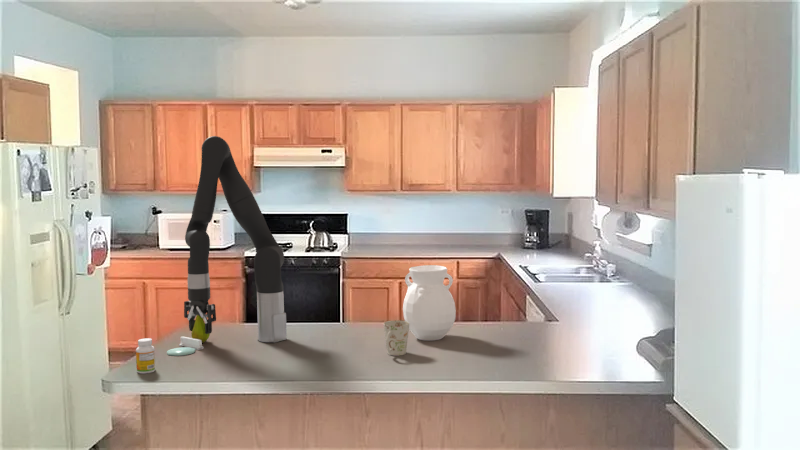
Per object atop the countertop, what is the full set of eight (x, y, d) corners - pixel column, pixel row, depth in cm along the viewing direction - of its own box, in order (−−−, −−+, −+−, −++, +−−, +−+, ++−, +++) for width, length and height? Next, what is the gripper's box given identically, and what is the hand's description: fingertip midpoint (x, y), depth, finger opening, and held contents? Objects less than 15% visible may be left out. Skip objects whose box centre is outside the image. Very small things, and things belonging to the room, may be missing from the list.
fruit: (213, 342, 264) (212, 308, 263) (198, 345, 260) (196, 311, 259) (203, 339, 269) (202, 306, 268) (188, 342, 264) (186, 308, 263)
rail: (203, 348, 255) (203, 339, 255) (197, 349, 253) (197, 341, 253) (184, 344, 261) (184, 336, 261) (179, 345, 259) (178, 337, 259)
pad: (200, 351, 251) (200, 349, 251) (178, 357, 244) (178, 355, 244) (183, 347, 256) (183, 346, 256) (161, 353, 249) (161, 351, 249)
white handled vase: (395, 341, 262) (394, 270, 260) (414, 330, 279) (413, 263, 277) (446, 345, 255) (445, 272, 253) (462, 334, 272) (462, 265, 270)
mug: (412, 351, 248) (412, 321, 247) (400, 360, 236) (400, 329, 235) (389, 349, 251) (388, 319, 250) (375, 358, 239) (375, 327, 238)
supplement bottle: (139, 369, 230) (138, 337, 229) (157, 368, 231) (156, 337, 230) (134, 374, 225) (133, 342, 224) (153, 373, 225) (151, 341, 225)
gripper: (220, 286, 261) (222, 332, 263) (194, 282, 270) (195, 327, 271) (203, 289, 255) (205, 336, 257) (176, 285, 264) (178, 331, 265)
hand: (200, 332), depth 264 cm, fingers open, 8 cm apart
